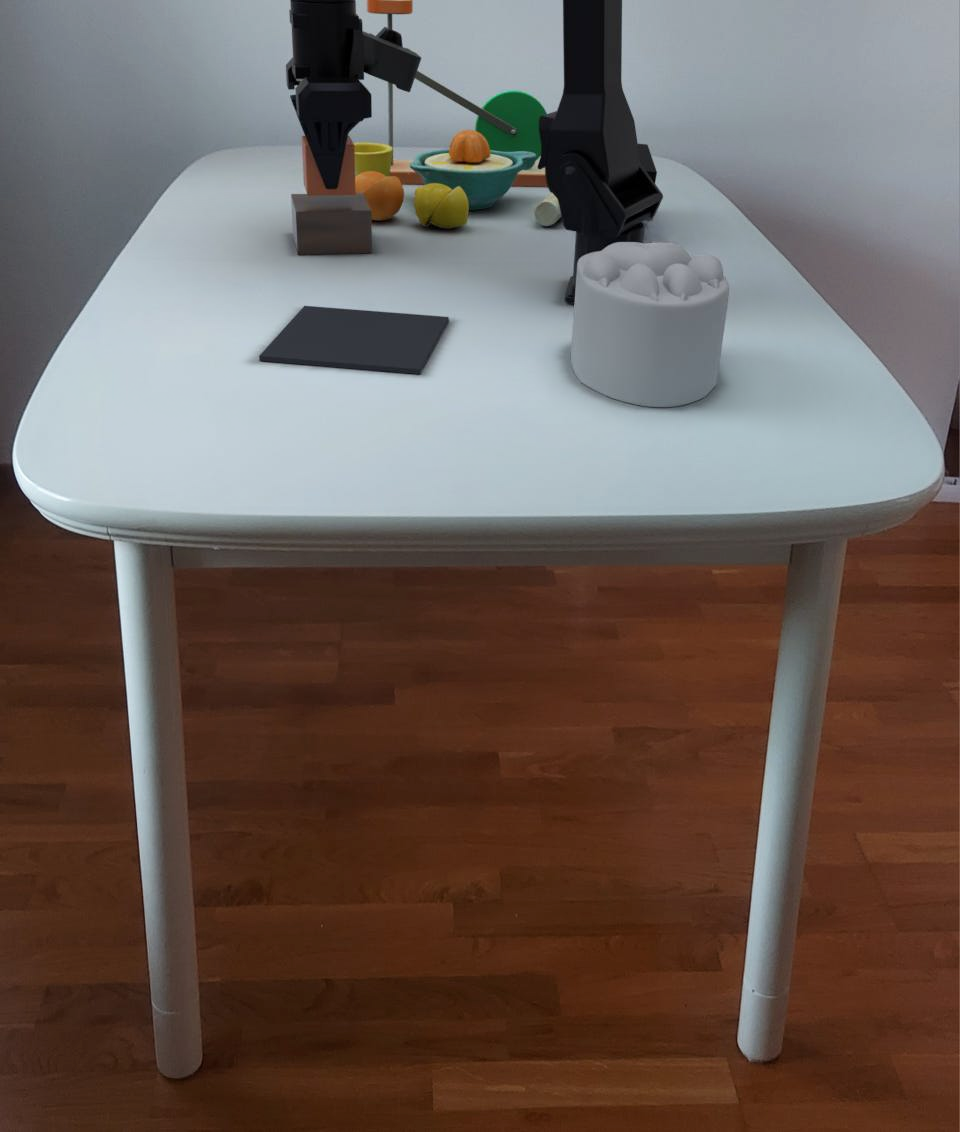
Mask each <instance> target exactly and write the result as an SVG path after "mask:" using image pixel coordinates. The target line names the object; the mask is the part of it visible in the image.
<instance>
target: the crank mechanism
mask: <svg viewBox="0 0 960 1132" xmlns="http://www.w3.org/2000/svg"><path fill="white" fill-rule="evenodd" d="M365 1H366V12H367V13H369V14H377V15H386V19H387V21H386V23H387V28H389V29H392V30H393V15H411V14H413V11H414V10H413V9H414V6H413V4H414V3H413V0H365ZM414 80H417V81H418V82H420V83H422V84H424V85H425V86H426V87H429V88H431V89H432V90H434V91H436V92H438V93H439V94H441V95H442V96H444V97H446V98H447V99H449V100H451V101H453V102H454V103H455V104H458V105H460V106H461V107H463V108H465V109H466V110H468V111H469V112H471V113H473V114H475V115H476V119H475V124H474V125H475V126H474V131H477V132H479V133H480V134H482V135H483V136H484V137H485V139H486V140H487V142H488V145H489V148H490V150H493V151H500V152H517V151H526V152H532V153H535V154H536V160H535V164H534V166H533V167H532V168H531V169H529V170H521V171H520V172H518V173H517V176H516V178H515V180H514V182H513V184H512V186H511V187H545V188H548V186H547V183H546V177H545V168H543V169H538V164H539V162H536V161H537V160H539V159H540V158H541V140H540V134H539V117H540V116H542V115H546V114H548V113H547V110H546V109H545V106H543V104H542V103H541V102H540V100H538V99H537V98H536V97H535V96H533V95H532V94H530V93H528V92H525V91H522V90H516V89H511V90H509V89H508V90H504V91H500V92H498V93H496V94H494V95H493V96H491V97H490V98H489V99H487V101H485V103H484V104H483V105H482V106H481V107H480V106H478V105H477V104H475V103H473V102H472V101H470V100H469V99H467V98H465V97H463V96H461V94H459V93H456V92H454V90H451V89H449V87H446V86H445V85H443V84H441V83H440V82H438V81H436V80H434V79H433V78H431V77H429V76H428V75H426V74H425V73H422V72H421V71H419V69H418V70H417V73H416V76H415V79H414ZM387 105H388V106H387V108H388V109H387V122H388V123H387V126H388V127H387V130H388V139H387V140H388V144H387V145H389V146H391V147H392V148H393V149H394V84H392V83H389V82H387ZM411 162H414V159H394V151H393V152H392V160H391V167H390V175H389V176H396V177H398V178H399V180H400V182H401V184H402V185H425V184H424V182H423V180H422V178H421V176H420V175H419V174H417V173H416V172H415V171H414V170H412V169H411V168H410V163H411Z"/></svg>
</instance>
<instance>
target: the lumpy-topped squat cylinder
mask: <svg viewBox="0 0 960 1132" xmlns="http://www.w3.org/2000/svg"><path fill="white" fill-rule="evenodd" d="M729 297H730V286H729V283H728V280H727V278H726V277H725V275H724V267H723V263H722V262H721V260H720V259H719V258H718V257H716V256H715V255H713V254H710V253H700V254H698V255H694V254H690V253H688V251H686V249H684V248H683V247H681V246H680V245H679V244H676V243H673V242H660V241H659V242H655V241H654V242H650V243H644V242H643V243H638V242H617V243H613V244H611V245H609V246H607V247H606V248H604V249H603V250H602V251H598V252H593V253H589V254H586V255H584V256H582V257H581V258H580V259H579V260H578V263H577V275H576V289H575V303H573V304H574V306H573V319H572V331H571V332H572V334H571V346H570V363H571V368H572V370H573V371H574V374H575V377H576V378H577V380H579V382H580V383H581V384H583V385H584V386H586V387H588V388H590V389H592V390H593V391H595V392H597V393H600V394H601V395H604V396H606V397H608V398H611V399H614V400H617V401H620V402H623V403H628V404H630V405H631V404H632V405H637V406H642V407H648V408H672V407H673V408H674V407H680V406H684V405H687V404H691V403H695V402H697V401H699V400H702V399H703V398H705V397H706V396H707V395H708V394H709V393H710V392H712V390H713V389H714V388H715V387H716V386H717V384H718V378H719V377H718V376H719V370H720V361H721V355H722V348H723V341H724V333H725V327H726V319H727V311H728V305H729Z"/></svg>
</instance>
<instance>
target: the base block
mask: <svg viewBox="0 0 960 1132" xmlns="http://www.w3.org/2000/svg"><path fill="white" fill-rule="evenodd" d="M290 200H291V221H292V236H293V240H294V244H295V249H296V253H297V255H299V256H304V255H305V256H307V255H308V256H309V255H339V254H340V255H341V254H342V255H344V254H346V255H347V254H372V253H373V228H372V227H373V225H372V224H373V223H372V222H373V220H372V218H371V209H370V207H369V205H368V203H367V201H366V199H365V197H364V195H363V193H356V194H355V195H315V196H308V195H307V193H291V194H290Z"/></svg>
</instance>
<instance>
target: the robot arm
mask: <svg viewBox="0 0 960 1132" xmlns="http://www.w3.org/2000/svg"><path fill="white" fill-rule="evenodd" d="M288 12H289V23H290V26H291V43H292V57H291V58H290V60H289V61H288V62H287V63H286V64H285V76H286V77H285V79H286V80H285V81H286V87H287V89H288V90H291V91H292V90H294V91H295V94H290V96H289V98H290V102H291V103H292V106H293V108H294V111H295V114H296V116H297V119H298V122H299V124H300V127H301V129H302V132H303V134H304V135H303V136H305V137H306V140H307V142H308V145H309V147H310V150H311V152H312V155H313V157H314V160H315V162H316V165H317V167H318V170H319V172H320V175H321V177H322V180H323V182H324V185H325V187H326V189H337V188H338V184H339V179H340V173H341V168H342V163H343V158H344V152H345V147H346V142H347V138H348V136H349V134H350V133H351V131H352V130H353V129H355V127H356V126H357V125H358V124H359V123H360V122H363V121H364V120H365V119H369V118H370V119H371V118H372V117H373V111H372V109H373V108H372V107H373V106H372V93H371V91H369V89H368V88H367V87H366V86H365V84H364V83H363V82H361V81H364V80H365V74H367V75H369V76H372V77H374V78H377V79H379V80H382V81H385V82H387V83H388V82H389V83H392V84H393V86H394V85H395V87H396V88H397V89H398V90H401V91H403V92H407V93H411V90H412V88H413V85H414V82H415V80H416V79H415V76H416V73H417V70H418V71H419V66H420V65H421V61H422V56H421V55H419V54H418V53H417V52H415V51H412V50H411V49H410V48H408V47H404V46H403V37H402V34H401V33H400V32H399V31H396V30H394V29H393V28H392V29H389V28H387V27H386V26H384V27H382V29H381V30H380V31H379V32H377V34H376V35H374V33H371V32H367V31H364V29H363V28H364V27H363V19H362V18H360V16H359V14H358V13H357V2H356V0H290V9H289V11H288ZM562 34H563V36H562V41H563V42H562V44H563V90H562V95H561V98H560V101H559V104H558V106H557V110H556V111H552V112H549V113H547V114H546V115H542V116H540V117H539V134H540V140H541V156H540V157H539V160H538V163H539V164H538V169H543V168H545V177H546V183H547V186H548V187H547V188H548V191H549V192H550V194H551V193H553V194H554V195H555V196H556V198H557V199H558V203H559V207H560V211H561V215H562V217H561V218H562V222H563V227H564V229H565V230H566V231H570V232H575V241H574V255H573V256H574V257H573V267H572V268H573V271H572V275H571V276H570V277H569V281H568V283H567V287H566V290H565V294H564V302H565V303H570V304H574V303H575V289H576V275H577V263H578V260H579V259H580V258H581V257H582V256H584V255H586V254H589V253H593V252H598V251H602V250H603V249H604V248H606V247H607V246H609V245H611V244H613V243H617V242H638V243H644V234H645V223H644V221H645V220H647V219H648V218H652V217H654V218H655V216H656V214H657V212H658V210H659V207H660V205H661V203H662V200H663V198H664V194H663V193H662V191H661V190H660V189H659V187H658V186H657V184H656V182H655V183H654V182H653V180H652V179H651V178H650V176H649V175H648V173H647V172H646V171H645V169H644V168H643V167H642V165H641V164H640V158H639V150H638V144H639V143H638V136H637V128H636V122H635V118H634V116H633V114H632V111H631V108H630V105H629V103H628V100H627V96H626V95H625V92H624V89H623V83H622V82H623V81H622V67H623V66H622V65H623V64H622V61H623V60H622V59H623V57H622V56H623V53H622V51H623V49H622V48H623V0H562ZM645 222H646V221H645Z"/></svg>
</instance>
